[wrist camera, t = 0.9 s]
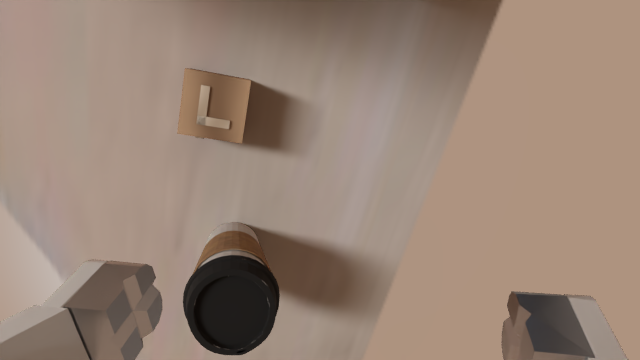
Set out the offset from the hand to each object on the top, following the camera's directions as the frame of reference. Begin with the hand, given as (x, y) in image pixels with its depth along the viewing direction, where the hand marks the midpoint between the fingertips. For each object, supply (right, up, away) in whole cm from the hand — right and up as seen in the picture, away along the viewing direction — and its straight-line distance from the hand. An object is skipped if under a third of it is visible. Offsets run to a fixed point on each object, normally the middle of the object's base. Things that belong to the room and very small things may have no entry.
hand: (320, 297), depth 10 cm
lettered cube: (-11, +11, +37) cm, 40 cm away
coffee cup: (-10, -5, +41) cm, 43 cm away
